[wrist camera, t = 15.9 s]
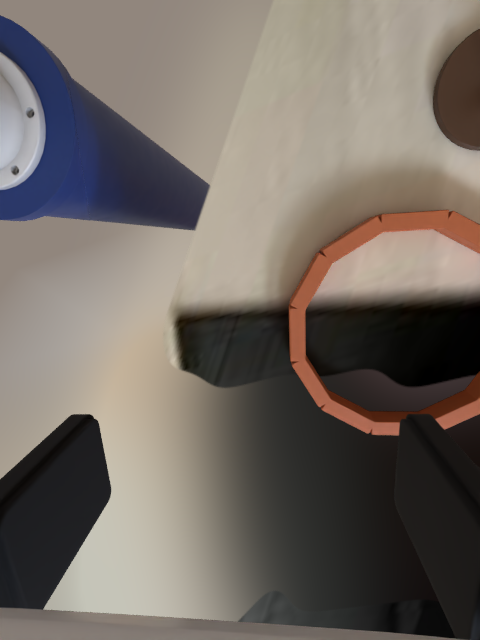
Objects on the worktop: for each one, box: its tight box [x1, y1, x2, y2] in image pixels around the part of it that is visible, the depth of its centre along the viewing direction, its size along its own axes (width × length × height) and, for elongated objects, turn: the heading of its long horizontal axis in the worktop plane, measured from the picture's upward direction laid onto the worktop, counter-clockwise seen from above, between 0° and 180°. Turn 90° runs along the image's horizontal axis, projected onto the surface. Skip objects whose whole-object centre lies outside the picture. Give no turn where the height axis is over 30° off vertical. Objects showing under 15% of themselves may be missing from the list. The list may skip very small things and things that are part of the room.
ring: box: [289, 210, 480, 435], centre depth 31 cm, size 22×22×2 cm
